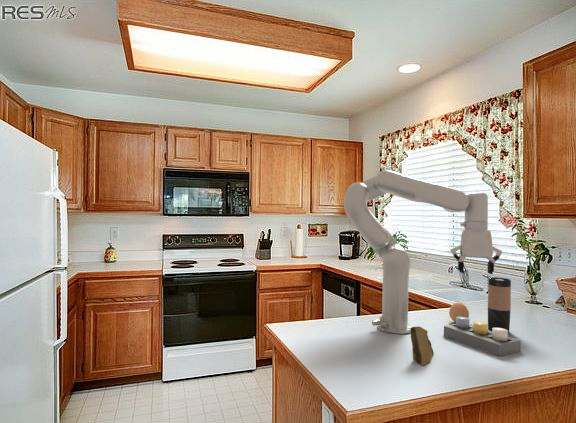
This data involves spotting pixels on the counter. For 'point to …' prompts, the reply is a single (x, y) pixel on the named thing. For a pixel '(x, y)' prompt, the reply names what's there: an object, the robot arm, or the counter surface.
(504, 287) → the travel mug
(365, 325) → the counter surface
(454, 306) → the egg
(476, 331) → the mustard button
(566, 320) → the counter surface
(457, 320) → the slate button
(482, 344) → the button console
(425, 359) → the rock
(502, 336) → the ivory button
